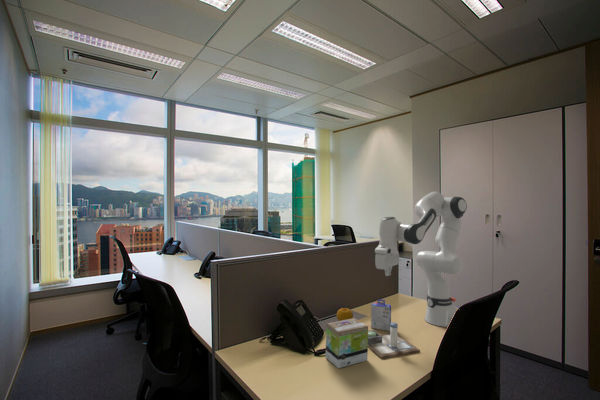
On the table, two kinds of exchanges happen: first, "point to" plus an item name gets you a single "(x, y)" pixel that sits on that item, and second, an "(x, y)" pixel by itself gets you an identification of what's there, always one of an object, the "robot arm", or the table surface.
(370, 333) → the button
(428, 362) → the table surface
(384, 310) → the ink cartridge box
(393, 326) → the cylinder
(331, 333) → the tea box
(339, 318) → the apple
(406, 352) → the brown shallow tray
